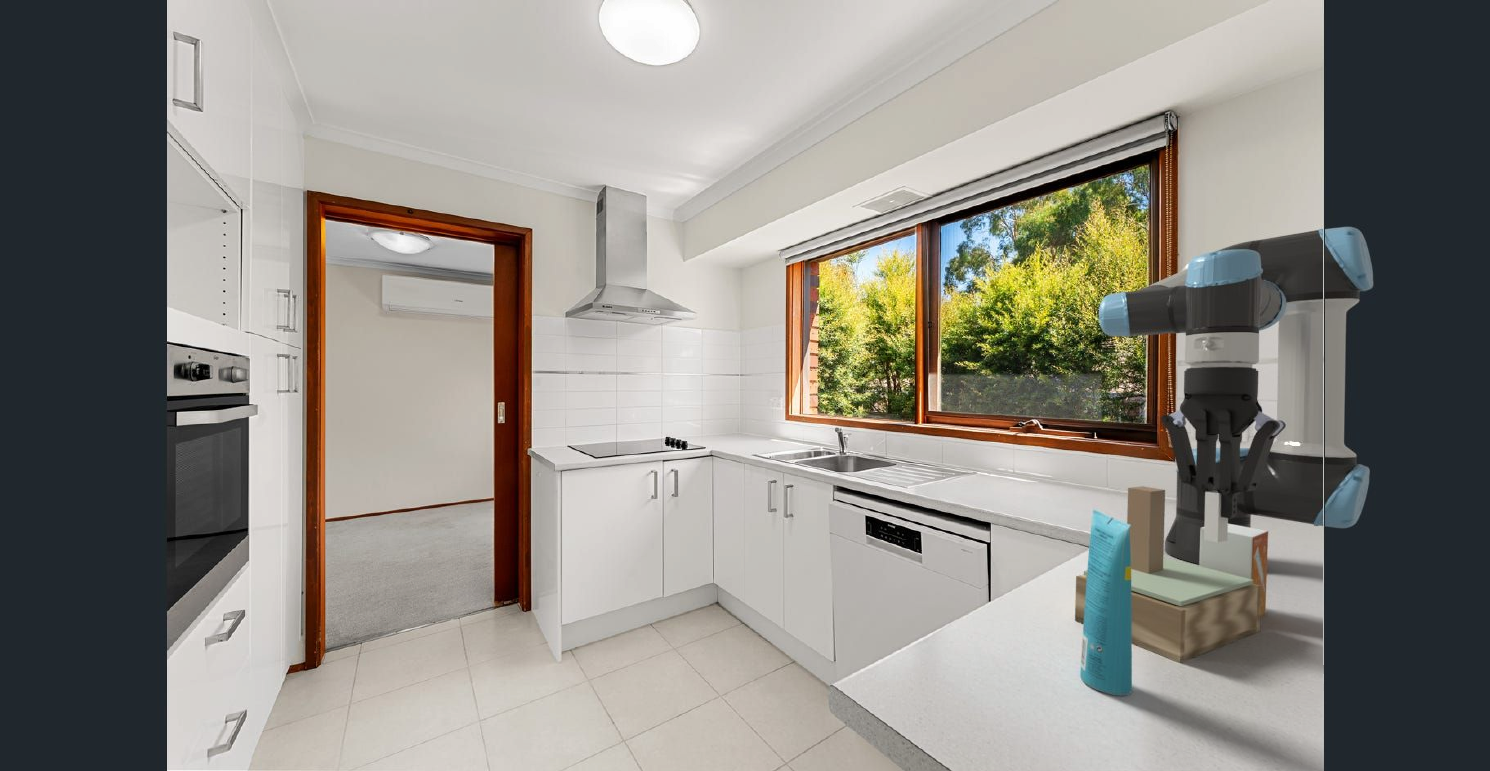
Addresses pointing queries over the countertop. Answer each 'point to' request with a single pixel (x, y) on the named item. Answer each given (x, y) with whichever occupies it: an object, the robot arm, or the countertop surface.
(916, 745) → the countertop surface
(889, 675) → the countertop surface
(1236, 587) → the lid
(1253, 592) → the crate
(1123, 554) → the tube
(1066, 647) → the countertop surface
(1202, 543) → the small box
